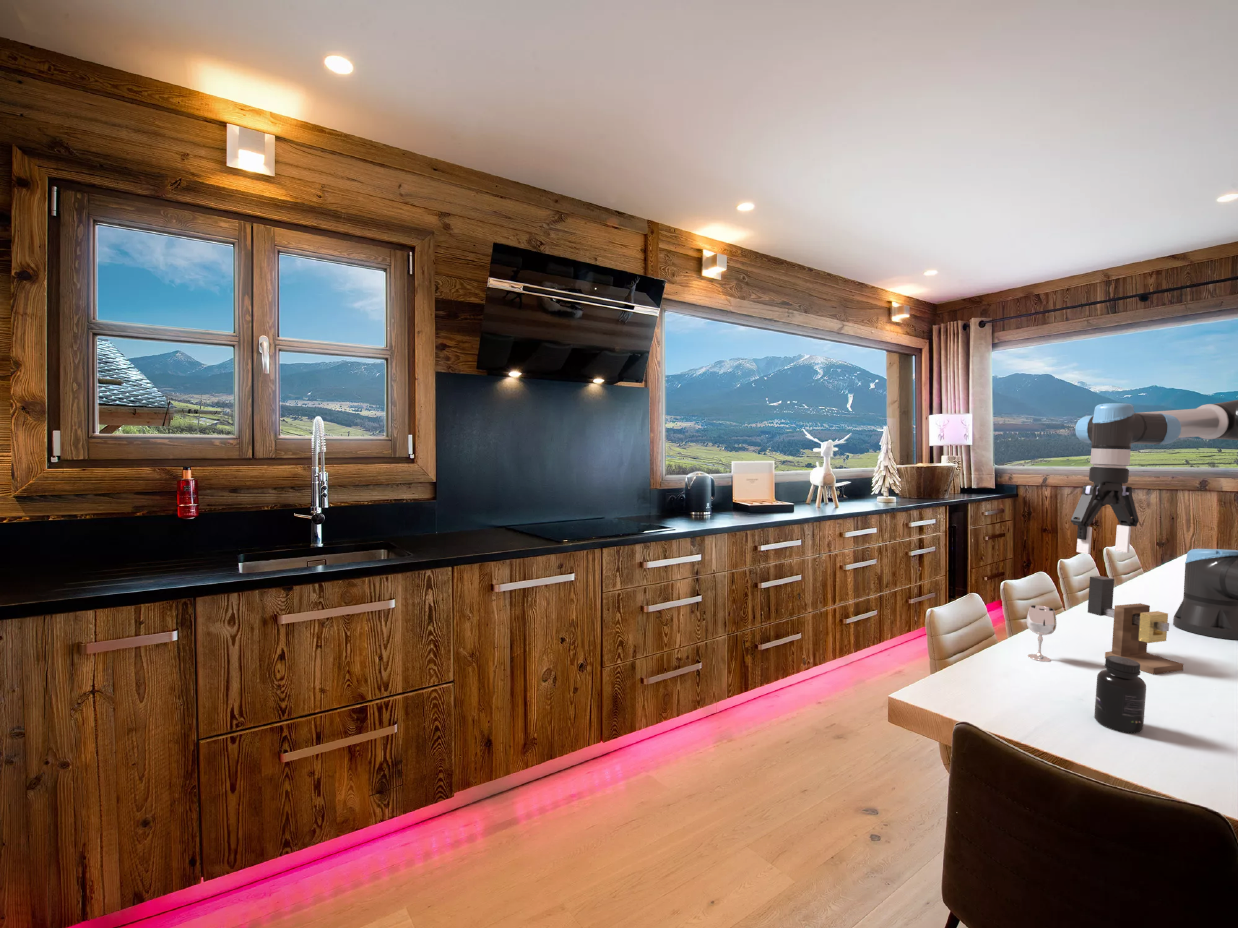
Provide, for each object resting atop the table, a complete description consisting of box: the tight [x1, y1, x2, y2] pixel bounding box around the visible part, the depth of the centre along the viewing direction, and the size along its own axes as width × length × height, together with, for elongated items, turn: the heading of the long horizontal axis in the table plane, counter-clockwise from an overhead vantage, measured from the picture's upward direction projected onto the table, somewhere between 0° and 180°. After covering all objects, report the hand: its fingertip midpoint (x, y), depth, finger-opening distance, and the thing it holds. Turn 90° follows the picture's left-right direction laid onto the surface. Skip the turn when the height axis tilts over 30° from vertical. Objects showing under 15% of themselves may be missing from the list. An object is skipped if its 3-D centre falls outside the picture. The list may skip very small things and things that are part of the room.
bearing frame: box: [1104, 603, 1184, 676], centre depth 139 cm, size 10×10×13 cm
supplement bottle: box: [1093, 656, 1147, 734], centre depth 107 cm, size 7×7×12 cm
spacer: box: [1139, 610, 1169, 644], centre depth 137 cm, size 2×6×6 cm, turn 108°
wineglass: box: [1026, 604, 1058, 662], centre depth 141 cm, size 6×6×12 cm
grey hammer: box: [1087, 575, 1170, 632], centre depth 142 cm, size 16×4×9 cm, turn 18°
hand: (1102, 552), depth 147 cm, fingers open, 13 cm apart
